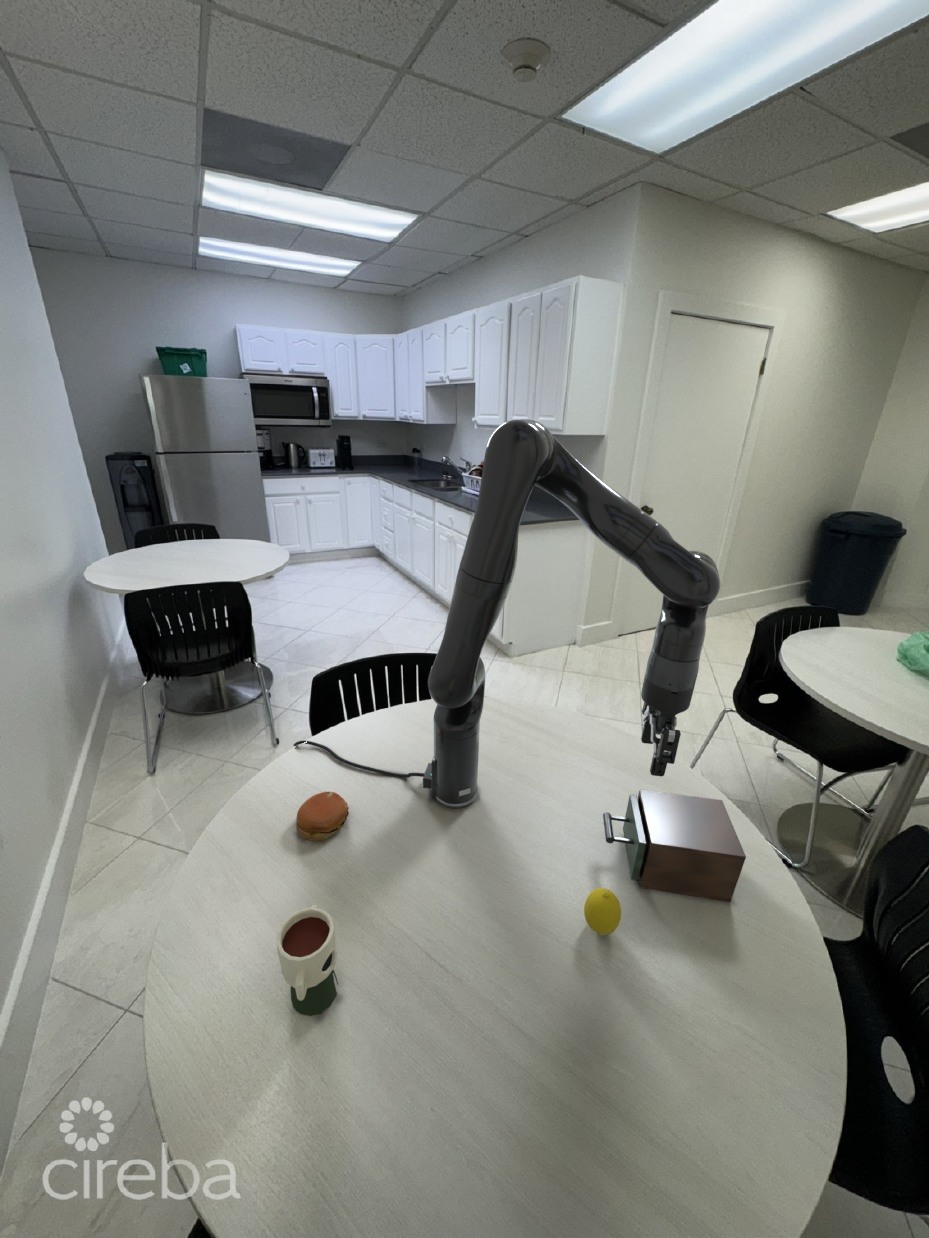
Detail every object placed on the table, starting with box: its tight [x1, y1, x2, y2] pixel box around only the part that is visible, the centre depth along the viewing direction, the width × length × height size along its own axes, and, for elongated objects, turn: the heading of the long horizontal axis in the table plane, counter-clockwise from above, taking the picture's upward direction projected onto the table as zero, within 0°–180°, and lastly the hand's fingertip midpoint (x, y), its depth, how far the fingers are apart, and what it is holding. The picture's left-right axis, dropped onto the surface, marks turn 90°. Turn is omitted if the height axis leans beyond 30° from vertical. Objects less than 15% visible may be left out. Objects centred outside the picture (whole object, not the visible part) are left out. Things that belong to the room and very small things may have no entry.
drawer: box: [602, 793, 650, 881], centre depth 88 cm, size 18×11×9 cm, turn 80°
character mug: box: [276, 904, 339, 1017], centre depth 66 cm, size 11×7×13 cm, turn 5°
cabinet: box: [637, 788, 747, 903], centre depth 87 cm, size 15×13×11 cm
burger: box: [295, 791, 350, 842], centre depth 96 cm, size 10×9×5 cm
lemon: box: [583, 887, 622, 936], centre depth 77 cm, size 6×6×8 cm
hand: (651, 757), depth 85 cm, fingers open, 8 cm apart
